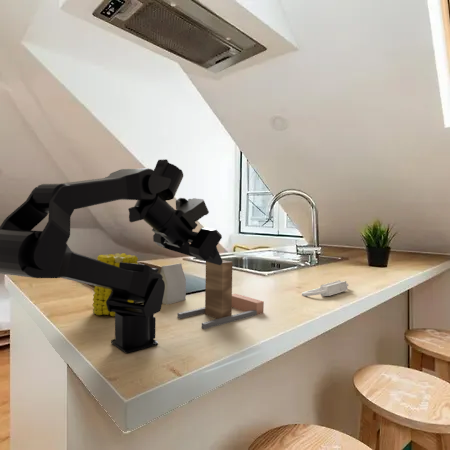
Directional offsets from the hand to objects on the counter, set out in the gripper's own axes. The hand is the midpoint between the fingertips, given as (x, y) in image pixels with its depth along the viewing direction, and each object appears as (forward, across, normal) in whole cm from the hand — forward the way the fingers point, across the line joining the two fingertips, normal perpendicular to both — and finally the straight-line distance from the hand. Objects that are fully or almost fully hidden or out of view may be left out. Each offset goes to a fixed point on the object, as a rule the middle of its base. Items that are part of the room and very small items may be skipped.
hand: (208, 259), depth 82 cm
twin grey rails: (+12, -1, +8) cm, 14 cm away
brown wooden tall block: (+11, -1, +9) cm, 14 cm away
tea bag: (+11, +17, +11) cm, 23 cm away
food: (-2, +17, +21) cm, 27 cm away
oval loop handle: (+45, -2, -17) cm, 48 cm away
